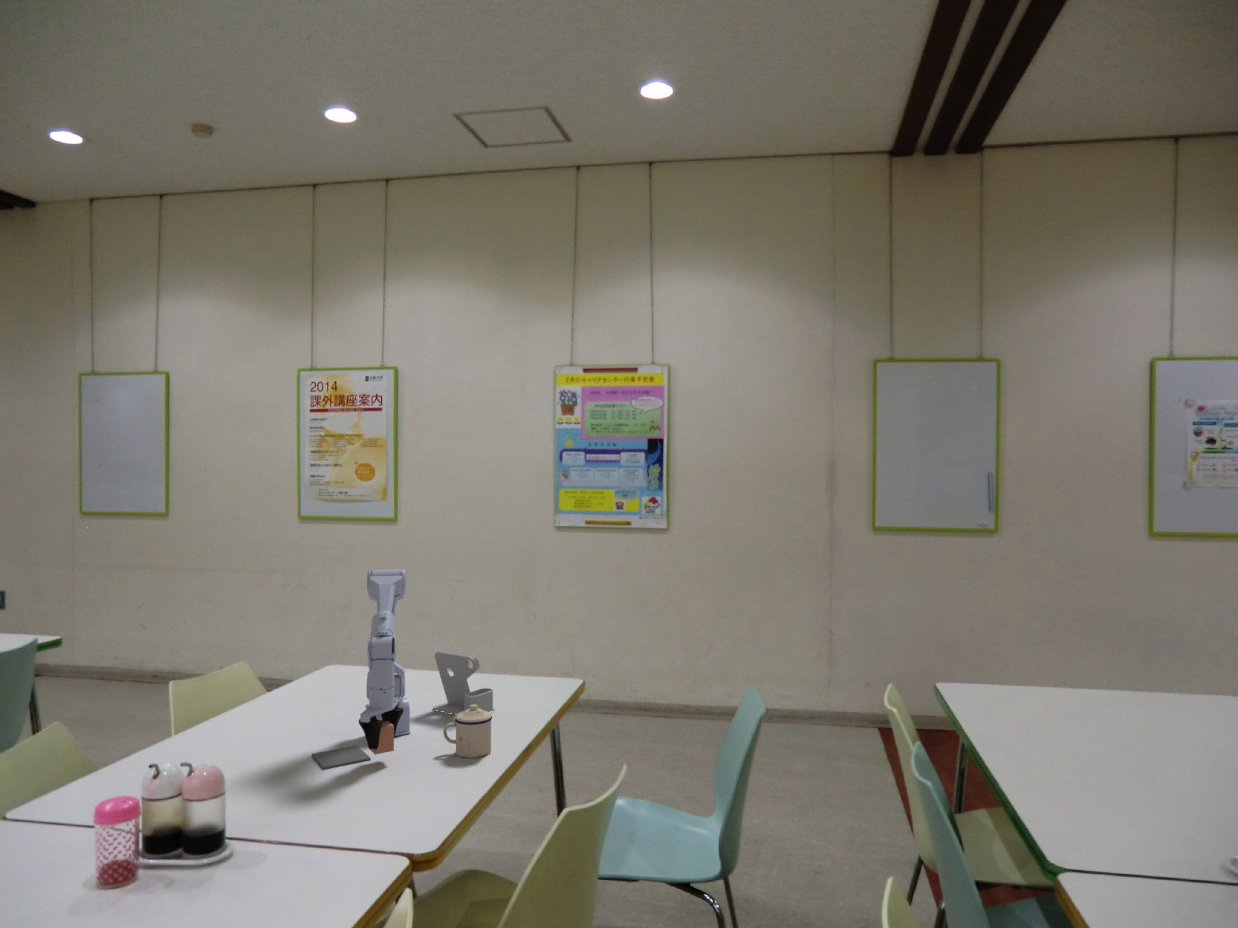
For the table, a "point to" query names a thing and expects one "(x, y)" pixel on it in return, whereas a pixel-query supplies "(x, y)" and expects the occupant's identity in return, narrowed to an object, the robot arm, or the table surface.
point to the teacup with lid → (472, 733)
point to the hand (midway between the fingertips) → (381, 743)
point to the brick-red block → (385, 739)
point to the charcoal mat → (340, 757)
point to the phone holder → (460, 683)
